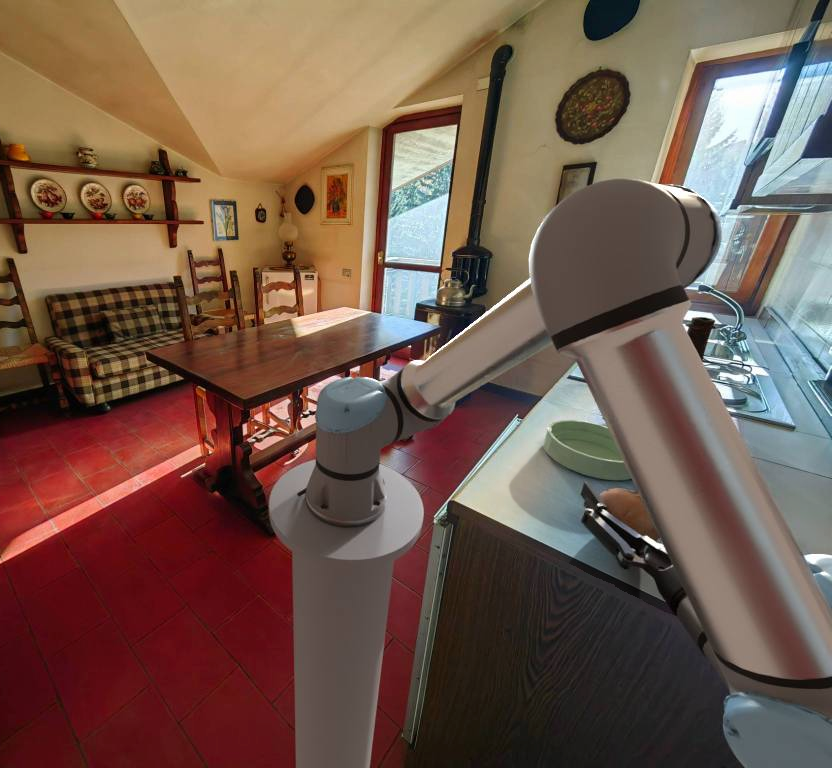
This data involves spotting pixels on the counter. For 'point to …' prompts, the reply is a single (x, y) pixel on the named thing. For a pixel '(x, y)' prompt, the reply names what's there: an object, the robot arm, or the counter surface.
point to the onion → (629, 511)
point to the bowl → (585, 449)
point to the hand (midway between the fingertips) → (616, 492)
